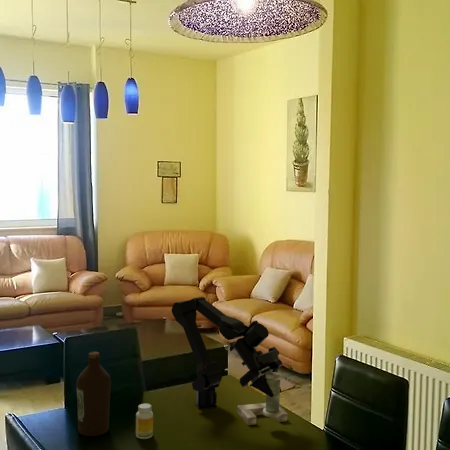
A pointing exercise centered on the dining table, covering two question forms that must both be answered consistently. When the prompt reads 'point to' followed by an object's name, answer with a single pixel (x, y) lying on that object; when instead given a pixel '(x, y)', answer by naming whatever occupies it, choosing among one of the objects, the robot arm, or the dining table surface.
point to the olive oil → (93, 398)
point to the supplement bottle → (144, 421)
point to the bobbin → (273, 402)
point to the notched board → (256, 413)
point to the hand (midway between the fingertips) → (276, 394)
